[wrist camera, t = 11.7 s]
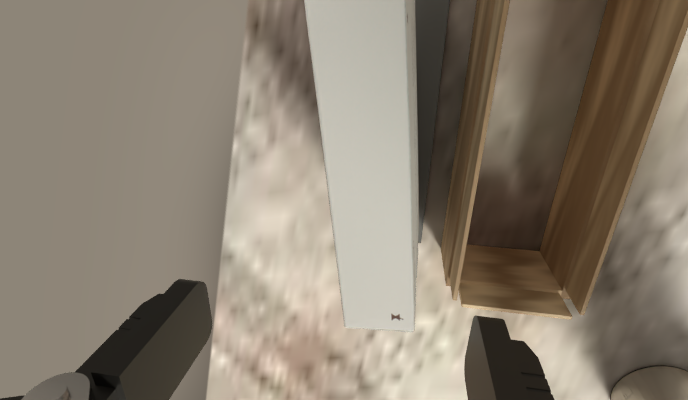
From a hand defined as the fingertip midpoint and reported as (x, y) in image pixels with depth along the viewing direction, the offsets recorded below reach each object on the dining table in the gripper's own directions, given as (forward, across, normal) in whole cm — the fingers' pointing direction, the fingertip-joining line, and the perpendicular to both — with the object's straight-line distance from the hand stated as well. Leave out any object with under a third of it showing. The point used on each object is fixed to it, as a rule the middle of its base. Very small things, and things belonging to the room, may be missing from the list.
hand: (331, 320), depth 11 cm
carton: (+27, -12, 0) cm, 30 cm away
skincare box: (+27, 0, 0) cm, 27 cm away
